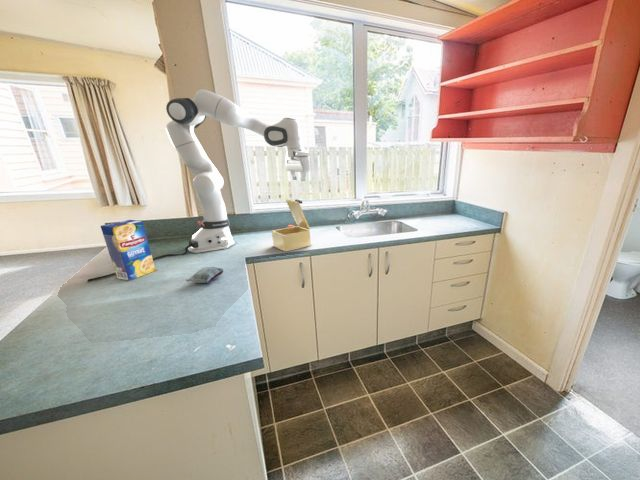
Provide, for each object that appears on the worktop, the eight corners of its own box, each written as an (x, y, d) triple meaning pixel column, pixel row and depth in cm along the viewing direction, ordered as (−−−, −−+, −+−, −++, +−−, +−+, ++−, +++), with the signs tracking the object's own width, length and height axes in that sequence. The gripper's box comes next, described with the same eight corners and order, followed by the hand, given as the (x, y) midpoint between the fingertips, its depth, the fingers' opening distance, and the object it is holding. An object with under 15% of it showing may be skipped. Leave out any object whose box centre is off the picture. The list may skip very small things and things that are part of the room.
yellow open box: (284, 251, 154) (283, 235, 151) (273, 246, 163) (271, 230, 159) (310, 245, 165) (309, 230, 162) (298, 240, 173) (297, 225, 170)
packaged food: (187, 286, 115) (184, 274, 113) (205, 273, 126) (203, 263, 124) (209, 287, 115) (207, 275, 113) (225, 274, 126) (223, 264, 124)
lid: (297, 202, 152) (304, 199, 155) (285, 199, 161) (292, 196, 163) (309, 229, 161) (315, 225, 164) (297, 225, 170) (303, 221, 172)
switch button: (290, 229, 182) (289, 226, 182) (287, 228, 185) (286, 225, 184) (295, 228, 185) (295, 225, 184) (292, 227, 187) (292, 224, 187)
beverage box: (156, 270, 128) (142, 221, 121) (129, 280, 119) (113, 227, 111) (144, 268, 130) (130, 219, 123) (116, 278, 120) (100, 225, 113)
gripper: (280, 153, 156) (284, 179, 161) (298, 152, 142) (302, 182, 147) (291, 152, 160) (295, 178, 165) (310, 152, 146) (313, 180, 151)
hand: (298, 180), depth 156 cm, fingers open, 8 cm apart
